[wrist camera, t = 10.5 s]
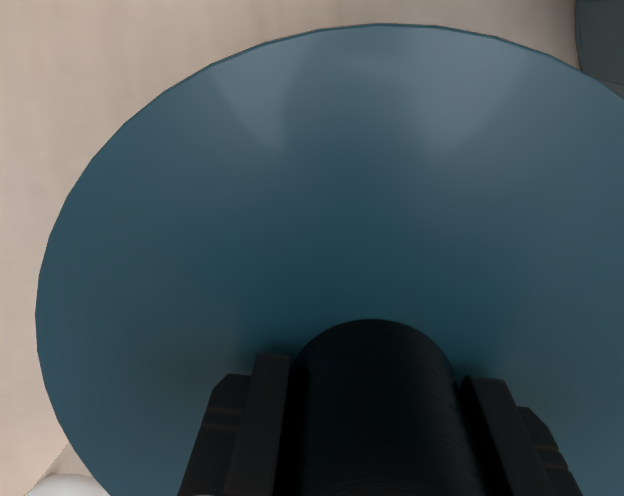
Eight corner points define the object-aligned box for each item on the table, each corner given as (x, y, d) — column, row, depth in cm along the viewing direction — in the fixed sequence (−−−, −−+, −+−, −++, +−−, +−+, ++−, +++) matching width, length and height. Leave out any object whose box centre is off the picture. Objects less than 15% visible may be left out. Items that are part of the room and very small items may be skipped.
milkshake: (118, 330, 27) (5, 493, 18) (204, 384, 28) (139, 563, 19) (77, 384, 28) (-46, 558, 19) (159, 433, 30) (81, 619, 21)
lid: (21, -22, 9) (-450, -77, 4) (834, 70, 9) (1570, 151, 4) (84, 534, 15) (-61, 831, 10) (578, 590, 15) (715, 918, 10)
